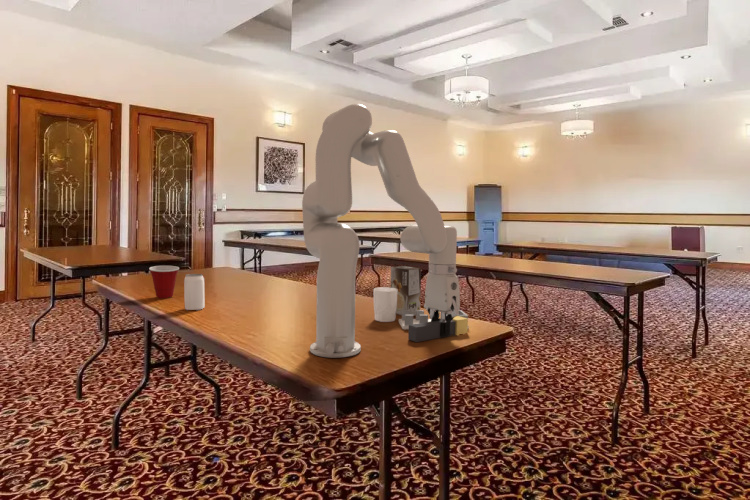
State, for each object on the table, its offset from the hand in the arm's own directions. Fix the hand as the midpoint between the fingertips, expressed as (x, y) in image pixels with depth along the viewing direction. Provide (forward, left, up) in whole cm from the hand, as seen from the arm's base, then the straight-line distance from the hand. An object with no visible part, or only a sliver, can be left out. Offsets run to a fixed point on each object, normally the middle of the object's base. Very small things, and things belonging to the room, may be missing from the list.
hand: (440, 333), depth 128 cm
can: (+37, +78, -1) cm, 87 cm away
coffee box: (+29, +6, -1) cm, 30 cm away
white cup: (+20, +13, -1) cm, 24 cm away
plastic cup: (+59, +96, -1) cm, 113 cm away
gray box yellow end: (0, +1, -1) cm, 1 cm away
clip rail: (+12, 0, -1) cm, 12 cm away
